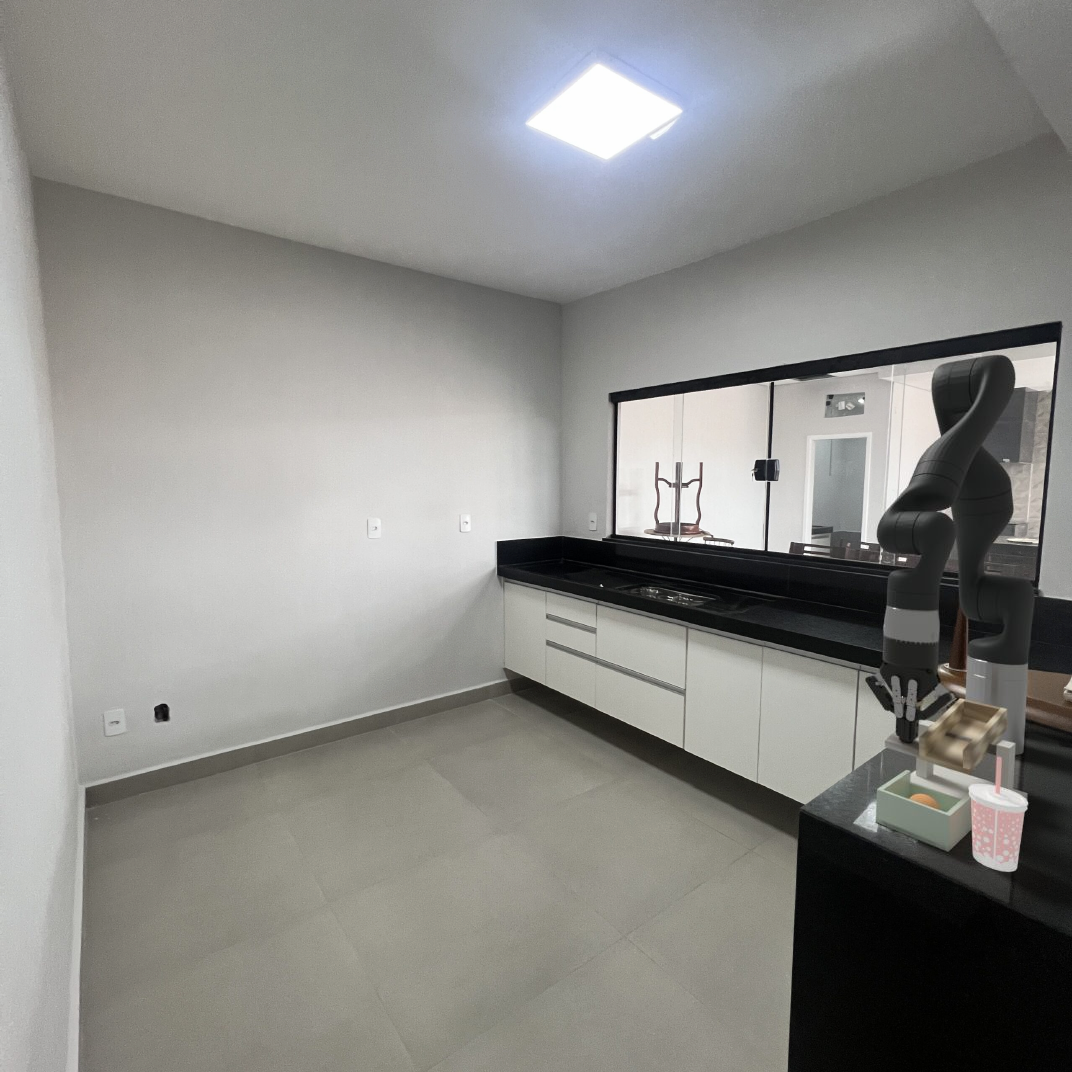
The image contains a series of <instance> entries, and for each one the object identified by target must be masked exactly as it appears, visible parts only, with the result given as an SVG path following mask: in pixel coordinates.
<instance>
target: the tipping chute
mask: <svg viewBox="0 0 1072 1072" xmlns="http://www.w3.org/2000/svg"><path fill="white" fill-rule="evenodd" d="M965 699H966V698H959V699H957V701H956V702H955V703H953V705H952V706H950V707H949V708H948V709H946V711H945V712H944V713H943V714H942V715H941V716H940V717H939V718H937V720H936V721H934V722H935V723H934V724H933V725H932V726H931V727H930V728H929V729H927V730H926V731H925V732H924V733H923V734H922V735H921V736H920V737H919V738H917V739H915V740H914V741H913V742H911V743H907V742H904V741H901V740H899V736H897V735H896V730H895V731H894V732H893V733H891V734H890V735H889V736H888V737H887V738H886V739H885V740H884V748H887V749H889V750H894V751H896V752H900V753H903V754H906V755H909V756H912V757H915V758H916V757H918V758H919V759H921V760H924V761H927V762H931V763H934V764H935V765H938V766H942V767H945V768H948V769H951V770H954V771H958V772H961V773H964V774H967V775H970V774H971V773H972V772H973V771H974V770H975V768H976V767H977V766H978V765H979V763H980V762H981V761H982V760H983V759H984V758H985V757H986V755H987V754H992V755H995V756H996V749H997V746H996V745H994V744H995V743H996V742H997V741H998V739H999V738H1000V737H1001V736H1002V735H1003V733H1004V732H1005V731H1006V730H1007V709H1005V708H1000V707H996V706H992V705H987V704H983V703H978V702H974V701H970V700H965Z"/></svg>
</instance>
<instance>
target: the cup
mask: <svg viewBox="0 0 1072 1072" xmlns="http://www.w3.org/2000/svg"><path fill="white" fill-rule="evenodd" d="M911 773H912V772H911V770H908V769H906V770H904V771H902V772H901V773H899V774H898V775H897V776H895V777H893V778H892V779H890V780H889V781H887V782H885V783H884V784H882V785H881V786H879V787H878V788H877V789H876V802H875V803H876V806H875V823H877V824H879V825H882V826H884V825H885V826H884V827H886V826H887V828H889V827H890V828H889V829H892V830H894V831H897V832H899V833H901V834H904V835H907V836H909V837H911V838H913V839H916V840H919V841H920V842H923V843H925V844H929V845H930V846H933V847H935V848H938V849H940V850H943V851H945V852H947V853H948V852H950V850H952V849H953V848H954V847H955V846H957V844H958V843H959V842H960V841H961V840H962V839H963V838H964V837H965V836H967V834H968V833H969V832H970V831H972V812H971V797H970V796H969V794H968V795H966V796H965V797H964V798H963V799H959V798H956V797H953V796H950V795H947V794H944V793H942V792H939V791H936V790H933V789H930V788H927V787H924V786H921V785H918V784H915V783H912V782H910V777H911ZM915 794H925V795H928V796H930V797H931V798H933V799H934V800H935V801H936V802H937V804H938V806H939V808H940V810H938V809H935V808H932V807H929V806H927V805H924V804H921V803H918V802H916V801H913V800H910V799H909V798H910V797H911V796H913V795H915Z"/></svg>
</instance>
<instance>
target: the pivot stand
mask: <svg viewBox="0 0 1072 1072" xmlns="http://www.w3.org/2000/svg"><path fill="white" fill-rule="evenodd" d="M935 722H936V721H931V720H928V719H927V720H921V721H919V732H918V737H917V738H919V737H920V736H921V735H922V734H923V733H924V732H925V731H926V730H927V729H929V728H930V727H931V726H932V725H933V724H934V723H935ZM1015 744H1016V743H1012V742H1008V741H1005V740H1002V741H1001V742H1000V743H998V744H997V749H996V755H995V768H994V769H995V770H994V771H995V772H994V774H995V775H994V782H992V781H990V780H986V779H983V778H980V777H976V776H973V775H970V774H966V773H963V772H960V771H956V770H953V769H950V768H947V767H943V766H940V765H937V764H934V763H931V762H927V761H924V760H921V759H919V758H918V757H915V758H916V760H915V770H913V771H912V772H911V777H910V782H912V783H915V784H918V785H921V786H924V787H927V788H930V789H933V790H936V791H939V792H942V793H944V794H947V795H950V796H953V797H956V798H959V799H963V798H964V797H965V796H966V795H968V794H969V787H970V786H971V785H973V784H990V785H995V786H996V770H997V757H1001V758H1002V763H1001V783H1000V787H1003V788H1006V789H1009V790H1012V791H1014V792H1016V793H1018V794H1020V795H1022V796H1023V797H1024V798H1026V800H1027V801H1028V793H1027V792H1025V791H1021V790H1019V789H1015V788H1014V784H1015V783H1014V781H1015V780H1014V779H1015V762H1016V755H1015Z"/></svg>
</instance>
